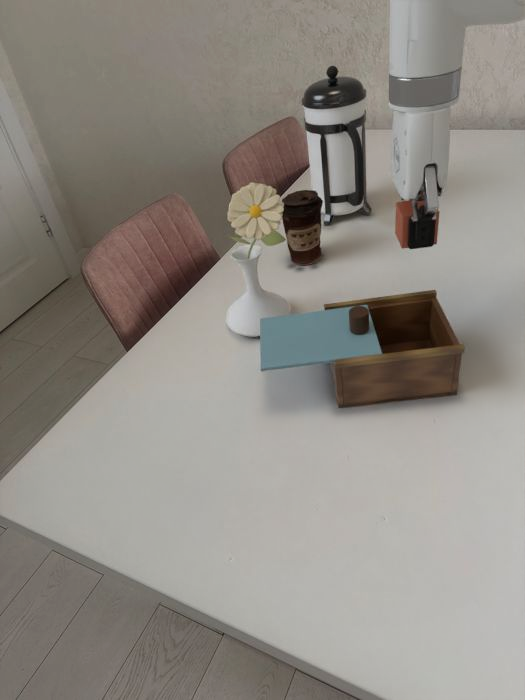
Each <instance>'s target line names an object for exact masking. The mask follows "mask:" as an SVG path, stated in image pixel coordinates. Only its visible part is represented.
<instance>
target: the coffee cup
mask: <svg viewBox="0 0 525 700" xmlns="http://www.w3.org/2000/svg"><path fill="white" fill-rule="evenodd" d="M281 202H283V203H284V207H283V208H284V211H283V212H282V214H283V216H282V219H281V221H282V225H283V229H284V234H285V239H286V245H287V249H288V251H289V254H290V261H291V263H293V264H295V265H297V266H298V265H299V266H306V265H311V264H314V263H316V262H318V261H319V260H321V259H322V257H323V253H322V247H321V233H322V213H321V208H322V203H323V201H322V199H321V198H320V197H319V196H318V193H317V192H316V191H313V190H312V189H302V190H296V191H293V192H291V193H288V194H287V195H285V196H284V197H283V198H282V199H281Z"/></svg>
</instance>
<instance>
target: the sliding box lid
mask: <svg viewBox="0 0 525 700" xmlns="http://www.w3.org/2000/svg"><path fill="white" fill-rule="evenodd" d="M259 340H260V341H259V344H260V345H259V346H260V347H259V349H260V371H261V372H267V371H275V370H283V369H291V368H298V367H307V366H308V367H309V366H315V365H322V364H323V365H324V364H330V363H333V362H334V360H338V359H346V358H354V357H362V356H370V355H379V354H382V351H381V348H380V345H379V342H378V338H377V335H376V332H375V329H374V325H373V322H372V319H371V316H370V312H369V309H368V306H367V305H360V306H353V307H345V308H337V309H330V310H324V309H323V310H316V311H308V312H301V313H294V314H293V313H291V315H284V316H277V317H269V318H261V319H260V336H259Z"/></svg>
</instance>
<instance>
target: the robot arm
mask: <svg viewBox="0 0 525 700" xmlns="http://www.w3.org/2000/svg"><path fill="white" fill-rule="evenodd" d="M523 20H525V0H389V42H388V43H389V44H388V45H389V46H388V47H389V48H388V49H389V50H388V54H389V55H388V57H389V59H388V60H389V61H388V108H389V109H390V110H393V116H392V126H391V127H392V129H391V143H390V145H391V146H390V162H389V163H390V164H389V173H390V174H389V175H390V178H391V180H392V182H393V185H394V186H395V188H396V190H397V192H398V194H399V196H400V200H401V202H402V201H410V200H411V214H412V219H409V226H408V247H409V248H408V249H409V250H417V249H424V248H432V247H433V246H435V245H434V236H435V224H436V212H437V211H439V208H440V207H439V206H440V204H439V198H441V197H442V196H443V195H444V194H445V193H446V189H447V184H448V175H449V163H450V162H449V161H450V147H451V146H450V143H451V127H452V125H451V107H452V106H453V105H455V104H457V103H458V102H459V101H460V90H461V79H462V70H463V57H464V47H465V46H464V45H465V37H466V29H467V28H469V27H472V26H483V25H484V26H493V25H509V24H515V23H518V22H521V21H523ZM423 200H425V202H424V204H423V205H421V206H420V207H419V209H418V201H423Z"/></svg>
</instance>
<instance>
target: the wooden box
mask: <svg viewBox="0 0 525 700" xmlns="http://www.w3.org/2000/svg"><path fill="white" fill-rule="evenodd" d="M437 295H438V294H437V290H436V289H430V290H422V291H414V292H407V293H406V292H405V293H399V294H392V295H391V294H390V295H384V296H378V297H369V298H362V299H354V300H347V301H339V302H332V303H326V304H325V303H324V304H323V310H330V309H337V308H345V307H353V306H360V305H367V306H368V309H369V312H370V316H371V319H372V322H373V325H374V329H375V332H376V335H377V338H378V342H379V345H380V348H381V351H382V354H379V355H370V356H362V357H354V358H346V359H338V360H334V362H333V363H329V364H330V369H331V375H332V380H333V386H334V392H335V398H336V403H337V408H338V409H342V408H343V409H344V408H352V407H361V406H368V405H378V404H385V403H386V404H387V403H395V402H403V401H413V400H421V399H422V400H423V399H431V398H439V397H446V396H455V395H458V387H459V381H460V374H461V366H462V358H463V354H464V353H465V352H466V347H465V344H463V343H460V341H459V339H458V338H457V335H456V334H455V331H454V330H453V327H452V326H451V324H450V321H449V320H448V318H447V315H446V314H445V312H444V310H443V307H442V305H441V304H440V302H439V300H438V298H437Z"/></svg>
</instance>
